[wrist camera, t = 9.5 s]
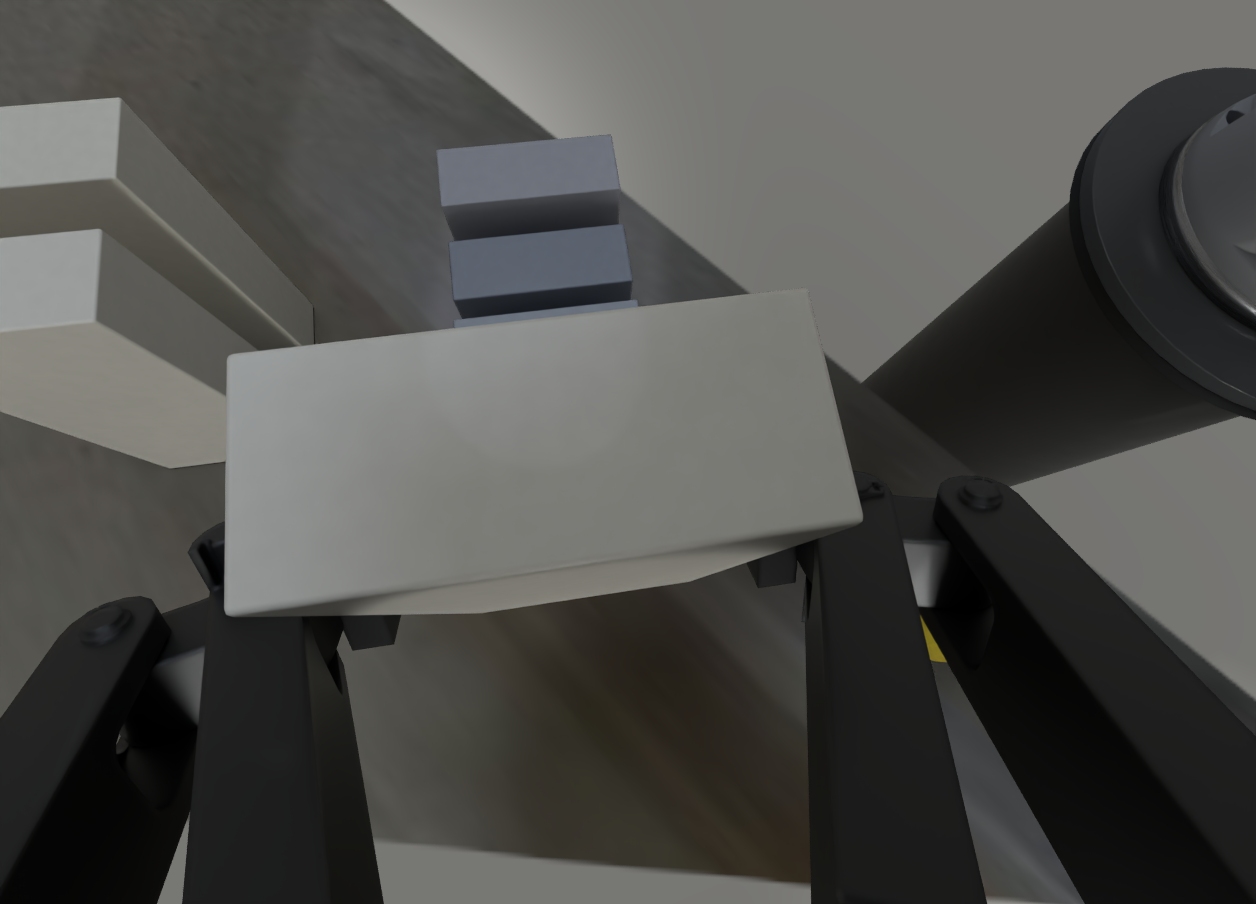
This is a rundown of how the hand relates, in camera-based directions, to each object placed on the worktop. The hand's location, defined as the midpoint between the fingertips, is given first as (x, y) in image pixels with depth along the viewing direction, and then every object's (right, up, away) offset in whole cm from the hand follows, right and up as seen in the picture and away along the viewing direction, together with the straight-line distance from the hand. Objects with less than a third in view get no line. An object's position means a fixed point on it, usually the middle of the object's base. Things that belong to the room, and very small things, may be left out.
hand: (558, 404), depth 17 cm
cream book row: (-18, +2, +15) cm, 23 cm away
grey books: (-2, +4, +16) cm, 17 cm away
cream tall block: (0, -5, +4) cm, 6 cm away
